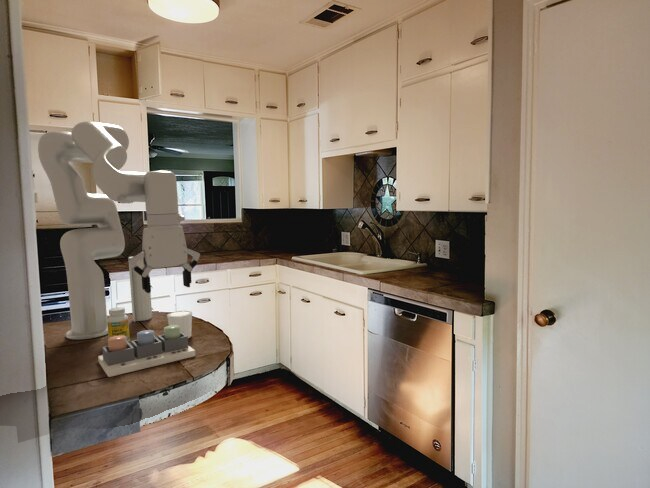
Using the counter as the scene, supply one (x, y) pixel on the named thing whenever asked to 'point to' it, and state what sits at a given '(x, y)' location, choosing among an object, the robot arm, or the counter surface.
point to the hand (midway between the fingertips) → (167, 289)
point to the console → (145, 355)
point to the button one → (117, 343)
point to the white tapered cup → (181, 321)
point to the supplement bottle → (118, 323)
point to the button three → (172, 332)
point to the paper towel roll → (139, 295)
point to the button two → (145, 337)
